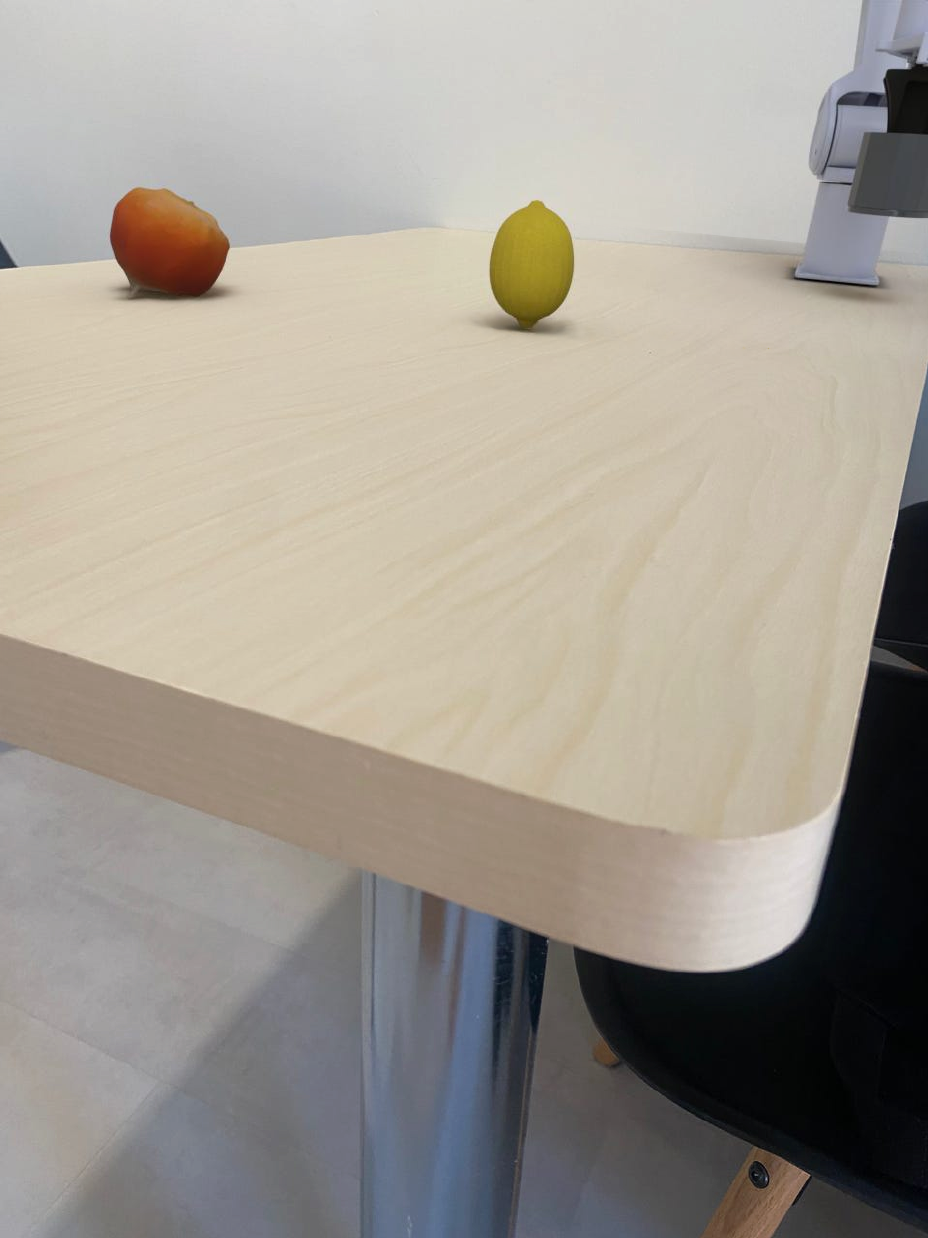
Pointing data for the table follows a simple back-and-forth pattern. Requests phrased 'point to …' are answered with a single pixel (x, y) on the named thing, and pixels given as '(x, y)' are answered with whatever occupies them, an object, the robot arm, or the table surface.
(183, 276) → the fruit
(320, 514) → the table surface
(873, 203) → the tumbler
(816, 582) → the table surface
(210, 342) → the table surface
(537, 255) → the lemon
